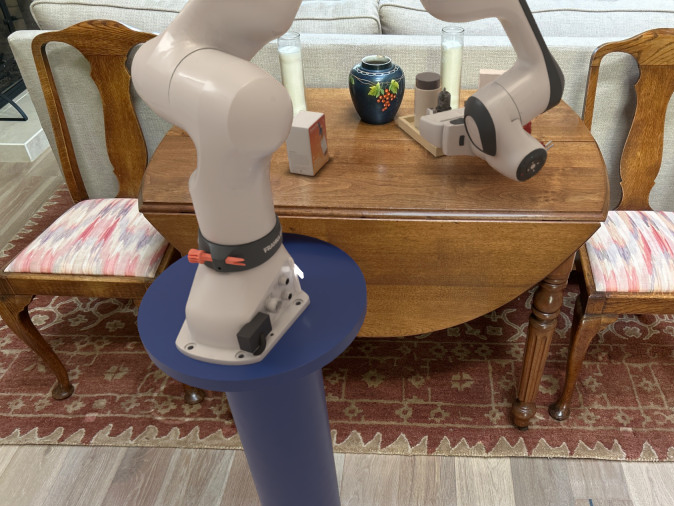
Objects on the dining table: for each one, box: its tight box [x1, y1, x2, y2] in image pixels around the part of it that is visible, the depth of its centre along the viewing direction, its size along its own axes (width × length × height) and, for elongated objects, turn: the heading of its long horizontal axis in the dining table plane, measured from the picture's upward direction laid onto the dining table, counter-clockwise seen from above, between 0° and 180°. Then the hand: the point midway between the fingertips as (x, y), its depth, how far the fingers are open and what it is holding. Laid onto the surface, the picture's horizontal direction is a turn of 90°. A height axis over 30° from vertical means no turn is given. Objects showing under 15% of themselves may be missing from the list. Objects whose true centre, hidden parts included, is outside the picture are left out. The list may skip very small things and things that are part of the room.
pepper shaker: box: [413, 71, 442, 130], centre depth 130 cm, size 6×6×12 cm
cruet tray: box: [397, 113, 445, 158], centre depth 131 cm, size 18×10×2 cm, turn 27°
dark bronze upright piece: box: [436, 86, 453, 113], centre depth 125 cm, size 6×6×12 cm
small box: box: [285, 109, 330, 177], centre depth 118 cm, size 8×6×10 cm
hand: (448, 107), depth 122 cm, fingers open, 8 cm apart
